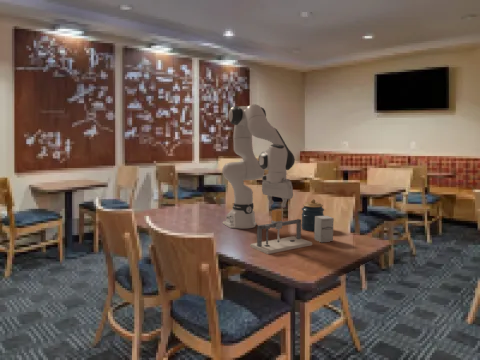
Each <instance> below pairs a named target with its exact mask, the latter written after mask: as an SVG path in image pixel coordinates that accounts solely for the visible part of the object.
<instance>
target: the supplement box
mask: <svg viewBox="0 0 480 360" xmlns="http://www.w3.org/2000/svg"><path fill="white" fill-rule="evenodd" d="M334 221H335V219H334V217H331V216H329V215H324V216H315V231H313V232H314V241H317V242H318V241H319V242H318V243H320V242H321V243H327V242H328V243H331V242H330V241H334V224H335V223H334Z"/></svg>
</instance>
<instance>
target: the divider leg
mask: <svg viewBox="0 0 480 360" xmlns="http://www.w3.org/2000/svg"><path fill="white" fill-rule="evenodd" d="M282 218H283V217H282V210H280V209H274V210H271V222H270V224H271V223H275V227H272V228H271V229H275V230H277V239H278V241H277V242H279V239H280V230H281V229H282V228H283V226H282V222H283V220H282Z"/></svg>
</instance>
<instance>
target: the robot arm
mask: <svg viewBox="0 0 480 360" xmlns="http://www.w3.org/2000/svg"><path fill="white" fill-rule="evenodd" d="M227 117H228V121H229V123H230V124H231V125H234V127H233V137H232V138H233V152H234V153H235V154H236V155H237V156H240V157H241V158H242V161H232V162H227V163H225V164H224V165H223V167H222V171H221V172H222V176H223V178H224V179H225V180H226V181H228V183H229V184H230V185H231V186H232V189H233V195H234V196H233V198H234V199H233V200H234V203H232V209H231V210H230V211H229V212H228V213H226V220H224V221H222V224H223V225H225V226H226V227H228V228H230V229H241V230H242V229H252V228H255V227H256V225H257V224H258V223H257V222H256V215H255V210H254V207H255V206H254V202H253V201H254V197H253V196H254V194H253V193H254V192H253V189H252V188H251V187H249V186H247V185H245V183H244V182H245V181H255V180H260V179H261V180H262V182H261V184H262V185H261V192H262V195H265V196H266V197H267V200H268V205H274V202H275V201H274V200H273V197H276V198H281V200H282V202H281V203H280V207H281V208H286V206H287V205H286V204H287V202H288V200H290V199H292V198H294V189H293V188H294V187H293V184H292V181H291V180H290V178H287V171H289V170H290V169H291V168H293V167H294V165H295V156H294V154H293V153H292V151H291V150H290V149H289V147H288V146H287V144H286V143H285V140H284V138H283V137H282V136H281V134H280V132H279V131H278V129H277V128H275V127H274V126H272V125H271V123H270V121H268V118H267V113H266V110H265V108H264V107H261V106H260V105H259V104H257V103H256V104H255V103H253V104H250V105H246V106H244V105H240V106H239V105H238V106H232V107H230V109H229V111H228V116H227ZM253 137H255V138H257V139H261V140H265V141H268V142H270V143H271V144H270V145H269V146H268V149H266V150H264V151H262V152H261V153H260V154H259V155H258V159H257V156H256V155H255V153H254V148H253ZM265 171H267V174H265Z"/></svg>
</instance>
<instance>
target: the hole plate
mask: <svg viewBox="0 0 480 360" xmlns="http://www.w3.org/2000/svg"><path fill="white" fill-rule="evenodd" d="M294 224H296V227H295V228H296V230H295V231H296V235H294V236H287V237H283V238H279V242H277V241H278V238H275V239H271V240H269V230H270V229H273V228H272V227H275V223H271V222H270V223H265V224H258V225H257V224H256V225H257V226H256V227H257V228H256V230H257V231H256V242H254V243H250V245H249V247H250V248H252V249H254V250H257V251H259V252H261V253H264V254H267V255H270V254H271V255H272V254H274V253H275V254H276V253H281V252H285V251H290V250H295V249H300V248H304V247H308V246H313V242H312V241H309V240H306V239H304V238H302V226H301V224H302V218H297V219H293V220H286V221H282V227H284V226H290V225H294ZM263 230H266V231H265V232H266V233H265V236H266V237H265V239H266V240H265V241H263V239H262V238H263V235H262V234H263Z"/></svg>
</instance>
